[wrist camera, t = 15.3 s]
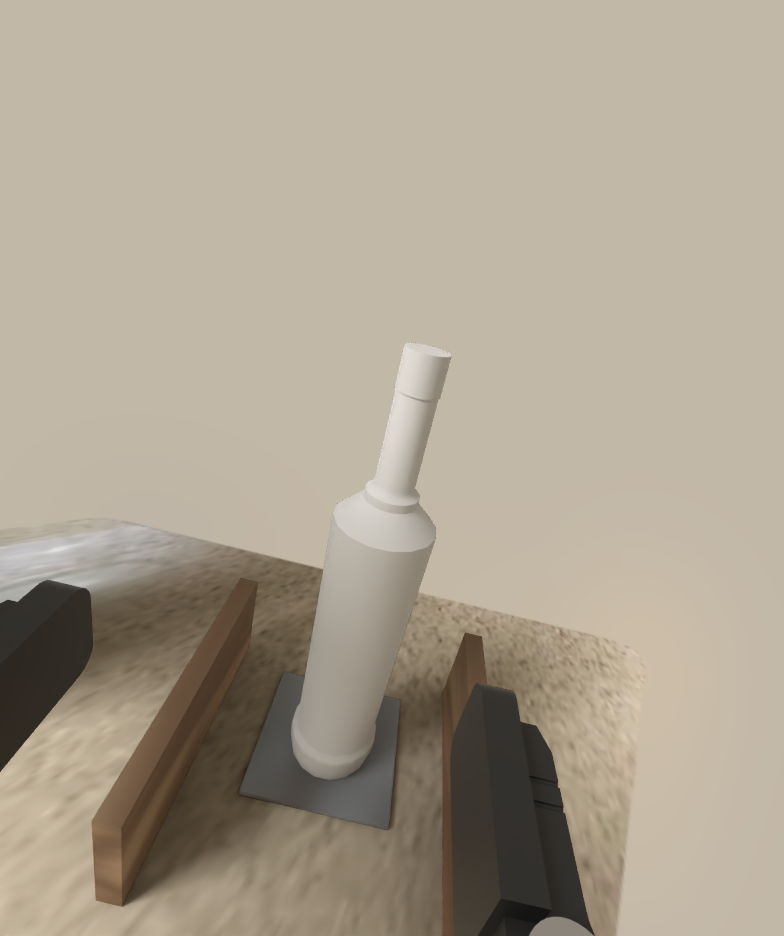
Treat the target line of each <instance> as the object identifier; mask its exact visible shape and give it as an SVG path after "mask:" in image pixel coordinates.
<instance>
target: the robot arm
mask: <svg viewBox="0 0 784 936" xmlns="http://www.w3.org/2000/svg"><path fill="white" fill-rule="evenodd" d="M92 647H93V634H92V615H91V597H90V593H89V591H88V590H87V589H85V588H81V587H76V586H72V585H68V584H64V583H59V582H55V581H51V580H46V581H43V582H41V583H40V584H38V585H37V586H36V587H35V588H33V589H32V590H31V591H30V592H29V593H28V594H27V595H25V596H24V597H23V598H22V599H21V600H20V601H18V602H15V601H11V600H7V601H4V602H2V603H0V772H1V770H2V769H3V768H4V767H5V765H6V764H7V763H8V762H9V761H10V759H11V758H12V757H13V756H14V755H15V753H16V752H17V751H18V750H19V748H20V747H21V746H22V745H23V744H24V742H25V741H26V740H27V739H28V738H29V736H30V735H31V734H32V733H33V731H34V730H35V729H36V728H37V727H38V725H39V724H40V723H41V722H42V721H43V719H44V718H45V717H46V716H47V714H48V713H49V712H50V711H51V710H52V708H53V707H54V706H55V705H56V704H57V702H58V701H59V700H60V699H61V697H62V696H63V695H64V694H65V693H66V691H67V690H68V689H69V688H70V687H71V685H72V684H73V683H74V682H75V681H76V679H77V678H78V677H79V676H80V674H81V673H82V671H83V670H84V668H85V666H86V664H87V662H88V660H89V658H90V655H91V652H92ZM450 782H451V833H452V883H453V933H454V936H595V935H594V933H593V930H592V928H591V925H590V922H589V919H588V915H587V912H586V907H585V903H584V898H583V894H582V889H581V884H580V880H579V875H578V871H577V866H576V861H575V857H574V852H573V848H572V843H571V838H570V834H569V829H568V825H567V820H566V816H565V813H563V807H564V806H563V802H562V797H561V793H560V788H558V779H557V774H556V770H555V765H554V761H553V756H552V752H551V751H550V749H549V747H548V745H547V744H546V742H545V740H544V738H543V737H542V735H541V733H540V731H539V730H538V728H537V726H535V725H531V724H527V723H522V722H520V717H519V711H518V705H517V699H516V696H515V693H514V692H513V691H510V690H506V689H502V688H498V687H493V686H489V685H485V684H481V683H476V684H475V685H474V687H473V689H472V692H471V694H470V696H469V699H468V701H467V703H466V706H465V708H464V710H463V713H462V715H461V718H460V720H459V722H458V725H457V727H456V730H455V733H454V736H453V741H452V747H451V755H450Z"/></svg>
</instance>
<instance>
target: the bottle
mask: <svg viewBox="0 0 784 936" xmlns="http://www.w3.org/2000/svg"><path fill="white" fill-rule="evenodd" d="M450 360H451V354H449V353H448V352H446V351H444V350H441V349H438V348H435V347H432V346H428V345H423V344H417V343H406V344H405V345H404V350H403V354H402V358H401V363H400V367H399V371H398V376H397V380H396V385H395V389H396V390H395V395H394V399H393V403H392V408H391V412H390V416H389V420H388V424H387V429H386V433H385V437H384V442H383V446H382V451H381V455H380V459H379V463H378V467H377V472H376V476H375V479H372V480H370V481H369V482H367V484H366V487H365V490H363V491H361V492H359V493H356V494H354V495H352V496H349V497H348V498H346V499H344V500H342V501H341V502H339V503H338V504H337V505H336V508H335V510H334V513H333V517H332V522H331V529H330V534H329V540H328V546H327V551H326V557H325V563H324V569H323V575H322V580H321V586H320V592H319V598H318V603H317V609H316V615H315V621H314V627H313V632H312V638H311V644H310V650H309V656H308V661H307V667H306V673H305V679H304V685H303V690H302V696H301V702H300V704H299V705H298V706H297V708H296V711H295V714H294V718H293V721H292V726H291V739H292V747H293V753H294V755H295V757H296V759H297V761H298V762H299V764H300V766H301V767H302V768H303V769H304V770H306V771H307V772H309V773H310V774H311V775H313V776H314V777H318V778H322V779H326V780H335V779H341V778H345V777H347V776H349V775H350V774H352V773H353V772H355V771H357V770H358V769H359V768H360V766H361V765H362V763H363V762H364V760H365V759H366V757H367V756H368V754H369V753H370V751H371V748H372V746H373V743H374V738H375V731H376V724H375V721H376V718H377V715H378V712H379V709H380V706H381V703H382V700H383V697H384V694H385V691H386V688H387V685H388V682H389V679H390V676H391V673H392V670H393V667H394V664H395V660H396V657H397V654H398V651H399V648H400V645H401V642H402V639H403V636H404V633H405V630H406V627H407V624H408V621H409V618H410V615H411V612H412V609H413V606H414V603H415V600H416V597H417V594H418V591H419V587H420V584H421V582H422V578H423V575H424V572H425V569H426V566H427V563H428V560H429V557H430V554H431V551H432V548H433V545H434V542H435V539H436V527H435V525H434V524H433V522H432V521H431V519H430V517H429V516H428V515H427V513H426V512H425V511H424V510H423V508H422V507H421V506H420V505H419V498H420V495H419V493H418V492H417V490H416V489H415V486H416V482H417V478H418V475H419V471H420V467H421V463H422V460H423V455H424V452H425V448H426V444H427V441H428V437H429V433H430V429H431V426H432V422H433V418H434V414H435V411H436V407H437V403H438V400H439V399H440V396H441V393H442V389H443V386H444V382H445V378H446V374H447V371H448V367H449V363H450Z"/></svg>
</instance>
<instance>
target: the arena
mask: <svg viewBox="0 0 784 936" xmlns="http://www.w3.org/2000/svg"><path fill="white" fill-rule="evenodd" d="M257 584H258V582H255V581H251V580H246V579H242V578H241V579H240V580H239V582H238V584H237V585H236V587H235V589H234V590H233V592H232V593H231V595H230V597H229V598H228V600H227V602H226V603H225V605H224V607H223V608H222V610H221V611H220V613H219V615H218V616H217V618H216V620H215V621H214V623H213V624H212V626H211V628H210V629H209V631H208V633H207V634H206V636H205V637H204V639H203V641H202V642H201V644H200V646H199V647H198V649H197V650H196V652H195V654H194V655H193V657H192V659H191V660H190V662H189V663H188V665H187V667H186V668H185V670H184V672H183V673H182V675H181V676H180V678H179V680H178V681H177V683H176V685H175V686H174V688H173V690H172V691H171V693H170V694H169V696H168V698H167V699H166V701H165V703H164V704H163V706H162V707H161V709H160V711H159V712H158V714H157V716H156V717H155V719H154V720H153V722H152V724H151V725H150V727H149V729H148V730H147V732H146V733H145V735H144V737H143V738H142V740H141V742H140V743H139V745H138V746H137V748H136V750H135V751H134V753H133V755H132V756H131V758H130V759H129V761H128V763H127V764H126V766H125V768H124V769H123V771H122V773H121V774H120V776H119V777H118V779H117V781H116V782H115V784H114V786H113V787H112V789H111V790H110V792H109V794H108V795H107V797H106V799H105V800H104V802H103V803H102V805H101V807H100V808H99V810H98V812H97V813H96V815H95V816H94V818H93V820H92V836H93V855H94V874H95V893H96V900H97V901H101V902H106V903H110V904H114V905H118V906H122V905H123V903H124V901H125V899H126V897H127V895H128V893H129V891H130V889H131V887H132V885H133V883H134V881H135V879H136V877H137V875H138V873H139V871H140V869H141V866H142V864H143V862H144V860H145V858H146V856H147V854H148V852H149V850H150V848H151V846H152V844H153V842H154V840H155V838H156V836H157V834H158V832H159V830H160V828H161V826H162V823H163V821H164V819H165V817H166V815H167V813H168V811H169V809H170V807H171V805H172V803H173V801H174V799H175V797H176V795H177V793H178V791H179V789H180V787H181V785H182V783H183V780H184V778H185V776H186V774H187V772H188V770H189V768H190V766H191V764H192V762H193V760H194V758H195V756H196V754H197V752H198V750H199V748H200V746H201V744H202V742H203V740H204V737H205V735H206V733H207V731H208V729H209V727H210V725H211V723H212V721H213V719H214V717H215V715H216V713H217V711H218V709H219V707H220V705H221V703H222V701H223V699H224V697H225V694H226V692H227V690H228V688H229V686H230V684H231V682H232V680H233V678H234V676H235V674H236V672H237V670H238V668H239V666H240V664H241V662H242V660H243V658H244V656H245V654H246V651H247V649H248V647H249V643H250V636H251V629H252V621H253V614H254V606H255V599H256V592H257ZM304 679H305V676H301V675H297V674H293V673H288V672H284V673H283V676H282V678H281V681H280V684H279V686H278V689H277V691H276V694H275V697H274V699H273V702H272V705H271V707H270V710H269V713H268V715H267V718H266V721H265V723H264V726H263V729H262V731H261V734H260V737H259V739H258V742H257V745H256V747H255V750H254V753H253V755H252V758H251V761H250V763H249V766H248V769H247V771H246V774H245V777H244V779H243V782H242V785H241V787H240V790H239V794H240V795H244V796H248V797H252V798H256V799H260V800H265V801H269V802H273V803H277V804H281V805H285V806H289V807H294V808H298V809H302V810H306V811H310V812H314V813H319V814H323V815H327V816H331V817H335V818H339V819H344V820H348V821H352V822H356V823H360V824H364V825H369V826H373V827H377V828H381V829H385V830H388V828H389V819H390V808H391V798H392V787H393V776H394V765H395V755H396V744H397V733H398V722H399V712H400V701H401V700H400V699H396V698H392V697H388V696H384V697H383V700H382V703H381V706H380V709H379V712H378V715H377V718H376V721H375V724H376V731H375V738H374V743H373V746H372V748H371V751H370V753H369V754H368V756H367V757H366V759H365V760H364V762H363V763H362V765H361V766H360V768H359V769H358V770H357V771H355V772H353V773H352V774H350V775H349V776H347V777H345V778H341V779H335V780H326V779H322V778H318V777H314V776H313V775H311V774H310V773H309V772H307V771H306V770H304V769H303V768H302V767H301V766H300V764H299V762H298V761H297V759H296V757H295V755H294V753H293V747H292V739H291V726H292V721H293V718H294V714H295V711H296V708H297V706H298V705H299V704H300V702H301V696H302V690H303V685H304ZM476 683H481V684H485V685H487V681H486V672H485V662H484V652H483V642H482V637H481V636H477V635H473V634H469V633H465V634H464V637H463V640H462V642H461V645H460V648H459V650H458V653H457V656H456V659H455V661H454V664H453V667H452V669H451V672H450V675H449V677H448V680H447V683H446V685H445V688H444V691H443V936H454V933H453V883H452V833H451V782H450V755H451V747H452V741H453V736H454V733H455V730H456V727H457V725H458V722H459V720H460V718H461V715H462V713H463V710H464V708H465V706H466V703H467V701H468V699H469V696H470V694H471V692H472V689H473V687H474V685H475V684H476Z"/></svg>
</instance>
